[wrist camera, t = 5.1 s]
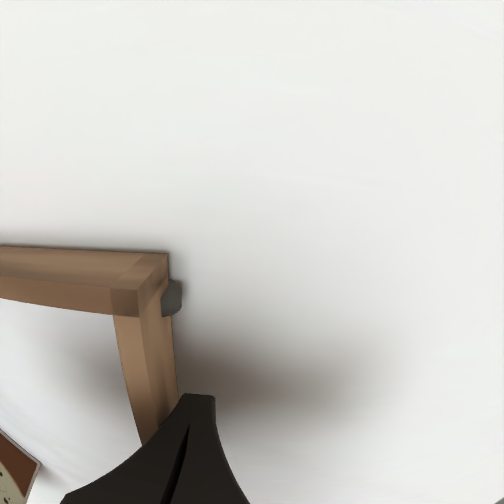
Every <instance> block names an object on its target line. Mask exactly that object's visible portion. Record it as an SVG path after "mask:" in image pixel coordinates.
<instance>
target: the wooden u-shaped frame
mask: <svg viewBox="0 0 504 504" xmlns="http://www.w3.org/2000/svg"><path fill="white" fill-rule="evenodd" d="M0 298H3V299H8V300H14V301H19V302H25V303H31V304H37V305H43V306H50V307H56V308H63V309H70V310H77V311H85V312H92V313H101V314H109V315H113V319H114V325H115V331H116V337H117V343H118V348H119V354H120V359H121V364H122V369H123V373H124V378H125V382H126V387H127V391H128V395H129V399H130V404H131V407H132V411H133V415H134V419H135V423H136V426H137V430H138V433H139V437H140V440H141V443H142V446H143V445H144V444H145V443H146V442H147V441H148V439H149V438H150V437H151V436H152V435H153V434H154V433H155V432H156V431H157V430H158V428H159V427H160V426H161V425H162V424H163V422H164V421H165V420H166V418H167V417H168V416H169V415H170V413H171V412H172V410H173V409H174V408H175V406H176V405H177V403H178V402H179V396H178V388H177V380H176V370H175V361H174V351H173V339H172V327H171V315H173V314H175V313H177V312H178V311H179V310H180V309H181V307H182V304H181V286H180V285H179V284H178V283H177V282H174V281H171V280H168V258H167V254H151V253H130V252H108V251H87V250H67V249H47V248H27V247H8V246H0Z"/></svg>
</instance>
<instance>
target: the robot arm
mask: <svg viewBox="0 0 504 504" xmlns="http://www.w3.org/2000/svg"><path fill="white" fill-rule="evenodd" d="M60 504H250V503H249V502H248V500H247V498H246V497H245V495H244V493H243V492H242V490H241V488H240V487H239V485H238V483H237V481H236V479H235V477H234V475H233V473H232V471H231V469H230V467H229V464H228V462H227V459H226V457H225V454H224V451H223V448H222V446H221V442H220V439H219V435H218V431H217V427H216V417H215V398H214V397H213V396H209V395H198V394H187V393H185V394H183V395H182V397H181V398H180V400H179V402H178V403H177V405H176V406H175V408H174V409H173V410H172V412H171V413H170V415H169V416H168V417H167V418H166V420H165V421H164V422H163V424H162V425H161V426H160V427H159V428H158V430H157V431H156V432H155V433H154V434H153V435H152V436H151V437H150V438H149V439H148V441H147V442H146V443H145V444H144V445H143V446H142V447H141V448H140V449H138V450H137V451H136V452H135V453H134V454H133V455H132V456H130V457H129V458H128V459H127V460H126V461H124V462H123V463H122V464H120V465H119V466H118V467H116V468H115V469H113V470H112V471H110V472H109V473H107V474H106V475H104V476H102V477H100V478H99V479H97V480H95V481H94V482H92V483H90V484H88V485H86V486H84V487H81V488H79V489H77V490H75V491H72V492H70V493H67V494H66V495H65V497H64V498H63V500H62V501H61V503H60Z"/></svg>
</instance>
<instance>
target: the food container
mask: <svg viewBox="0 0 504 504" xmlns="http://www.w3.org/2000/svg"><path fill="white" fill-rule="evenodd" d="M40 465H41V463H40V462H39V461H38V460H36V459H35V458H34V457H32V456H31V455H30V454H29V453H27V452H26V451H25V450H24V449H22V448H21V447H20V446H19V445H18V444H16V443H15V442H14V441H13V440H12V439H11V438H9V437H8V436H7V435H6V434H5V433H4V432H3V431H2V430H1V429H0V504H26V503H27V500H28V497H29V494H30V491H31V489H32V486H33V483H34V480H35V478H36V475H37V473H38V470H39V468H40Z"/></svg>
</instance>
